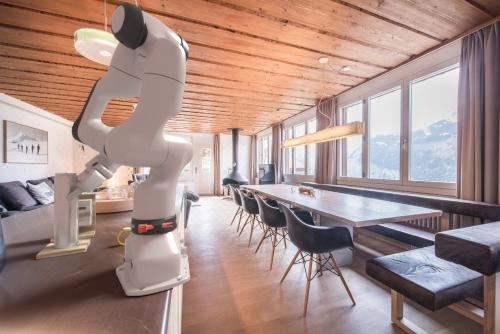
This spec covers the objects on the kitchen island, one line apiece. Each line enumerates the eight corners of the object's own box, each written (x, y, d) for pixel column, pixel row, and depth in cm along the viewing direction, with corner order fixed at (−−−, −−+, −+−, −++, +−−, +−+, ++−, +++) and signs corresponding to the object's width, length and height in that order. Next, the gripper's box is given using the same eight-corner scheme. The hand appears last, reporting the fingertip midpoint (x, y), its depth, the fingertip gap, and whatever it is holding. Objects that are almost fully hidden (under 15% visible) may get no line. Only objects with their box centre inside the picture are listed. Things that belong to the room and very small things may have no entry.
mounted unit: (93, 237, 86) (93, 195, 86) (50, 242, 80) (50, 197, 80) (95, 232, 93) (95, 193, 93) (56, 237, 86) (56, 195, 86)
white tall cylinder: (64, 249, 70) (64, 173, 70) (48, 248, 71) (48, 173, 71) (83, 242, 76) (83, 172, 76) (68, 241, 77) (68, 172, 77)
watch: (134, 242, 81) (136, 226, 82) (136, 244, 79) (137, 228, 80) (116, 244, 78) (117, 228, 78) (117, 246, 76) (119, 229, 76)
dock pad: (85, 251, 71) (85, 248, 71) (36, 259, 65) (36, 255, 65) (90, 241, 81) (90, 237, 81) (48, 246, 75) (49, 243, 75)
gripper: (84, 164, 86) (51, 190, 78) (100, 163, 72) (61, 194, 65) (97, 175, 89) (66, 201, 81) (114, 176, 76) (80, 207, 68)
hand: (64, 198), depth 73 cm, fingers open, 8 cm apart
